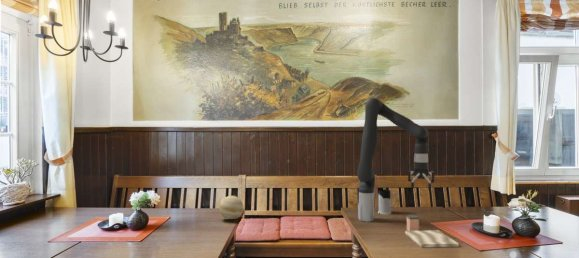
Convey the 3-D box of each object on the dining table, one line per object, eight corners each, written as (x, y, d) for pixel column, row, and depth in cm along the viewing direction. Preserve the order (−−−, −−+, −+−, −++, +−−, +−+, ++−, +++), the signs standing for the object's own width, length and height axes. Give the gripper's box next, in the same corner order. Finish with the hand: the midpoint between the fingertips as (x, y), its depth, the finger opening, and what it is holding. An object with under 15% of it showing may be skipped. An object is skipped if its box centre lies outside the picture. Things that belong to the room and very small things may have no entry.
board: (421, 247, 170) (421, 244, 170) (405, 233, 192) (405, 230, 192) (458, 246, 170) (458, 243, 170) (438, 232, 192) (438, 230, 192)
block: (409, 232, 194) (409, 217, 194) (406, 229, 199) (406, 215, 199) (419, 232, 194) (418, 217, 194) (415, 229, 199) (415, 215, 199)
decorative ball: (214, 220, 225) (214, 196, 224) (232, 215, 236) (232, 192, 236) (229, 224, 215) (229, 199, 215) (248, 218, 226) (247, 195, 226)
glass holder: (376, 211, 241) (375, 189, 241) (396, 210, 243) (395, 188, 243) (380, 214, 233) (380, 191, 233) (401, 213, 234) (401, 191, 234)
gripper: (407, 161, 204) (407, 189, 204) (434, 162, 199) (434, 191, 199) (408, 160, 211) (408, 187, 211) (434, 160, 206) (434, 188, 206)
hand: (421, 189), depth 205 cm, fingers open, 8 cm apart
